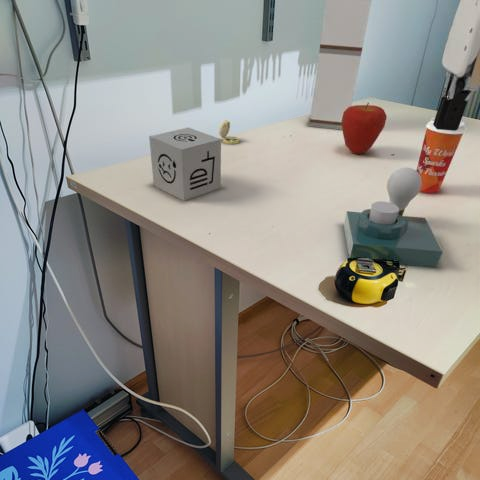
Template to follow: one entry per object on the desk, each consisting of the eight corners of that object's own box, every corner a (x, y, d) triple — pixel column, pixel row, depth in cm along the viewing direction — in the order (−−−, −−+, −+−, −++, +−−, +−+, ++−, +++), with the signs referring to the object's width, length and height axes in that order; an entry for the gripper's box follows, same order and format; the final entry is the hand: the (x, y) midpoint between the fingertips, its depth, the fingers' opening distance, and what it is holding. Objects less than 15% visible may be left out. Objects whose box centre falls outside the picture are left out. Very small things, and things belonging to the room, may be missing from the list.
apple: (357, 143, 118) (367, 95, 110) (386, 155, 111) (399, 105, 103) (327, 149, 113) (335, 99, 105) (356, 161, 106) (367, 109, 98)
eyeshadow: (234, 145, 112) (234, 125, 109) (218, 141, 114) (218, 122, 111) (242, 140, 115) (243, 121, 112) (226, 137, 117) (226, 118, 114)
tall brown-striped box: (347, 121, 135) (374, -19, 113) (346, 130, 127) (375, -18, 105) (312, 117, 137) (331, -21, 115) (309, 126, 129) (329, -21, 107)
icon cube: (220, 188, 90) (221, 139, 83) (183, 200, 84) (181, 149, 78) (190, 174, 95) (188, 127, 89) (153, 185, 89) (149, 136, 83)
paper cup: (405, 190, 93) (425, 122, 84) (410, 179, 98) (430, 114, 89) (442, 198, 90) (467, 129, 81) (445, 186, 96) (469, 120, 87)
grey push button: (392, 215, 72) (396, 202, 71) (397, 227, 69) (401, 214, 67) (366, 213, 72) (370, 200, 71) (370, 225, 69) (373, 211, 68)
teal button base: (420, 232, 78) (428, 207, 74) (436, 267, 68) (447, 240, 65) (343, 226, 78) (349, 200, 75) (349, 259, 69) (355, 232, 66)
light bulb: (405, 230, 78) (422, 177, 72) (374, 222, 80) (388, 169, 74) (412, 218, 82) (429, 167, 76) (382, 210, 84) (396, 160, 78)
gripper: (559, -32, 45) (488, 146, 57) (506, -31, 56) (456, 117, 68) (487, -36, 45) (431, 141, 57) (449, -34, 57) (409, 113, 69)
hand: (444, 128), depth 63 cm, fingers closed
